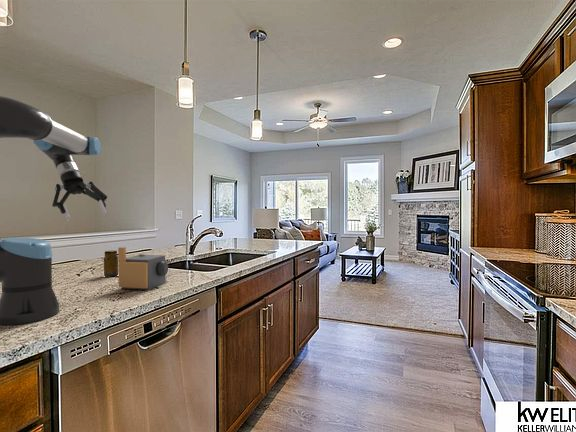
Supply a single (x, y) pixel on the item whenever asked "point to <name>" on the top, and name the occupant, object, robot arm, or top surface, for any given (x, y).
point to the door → (132, 272)
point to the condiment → (111, 264)
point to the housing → (152, 269)
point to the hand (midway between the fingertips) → (87, 216)
